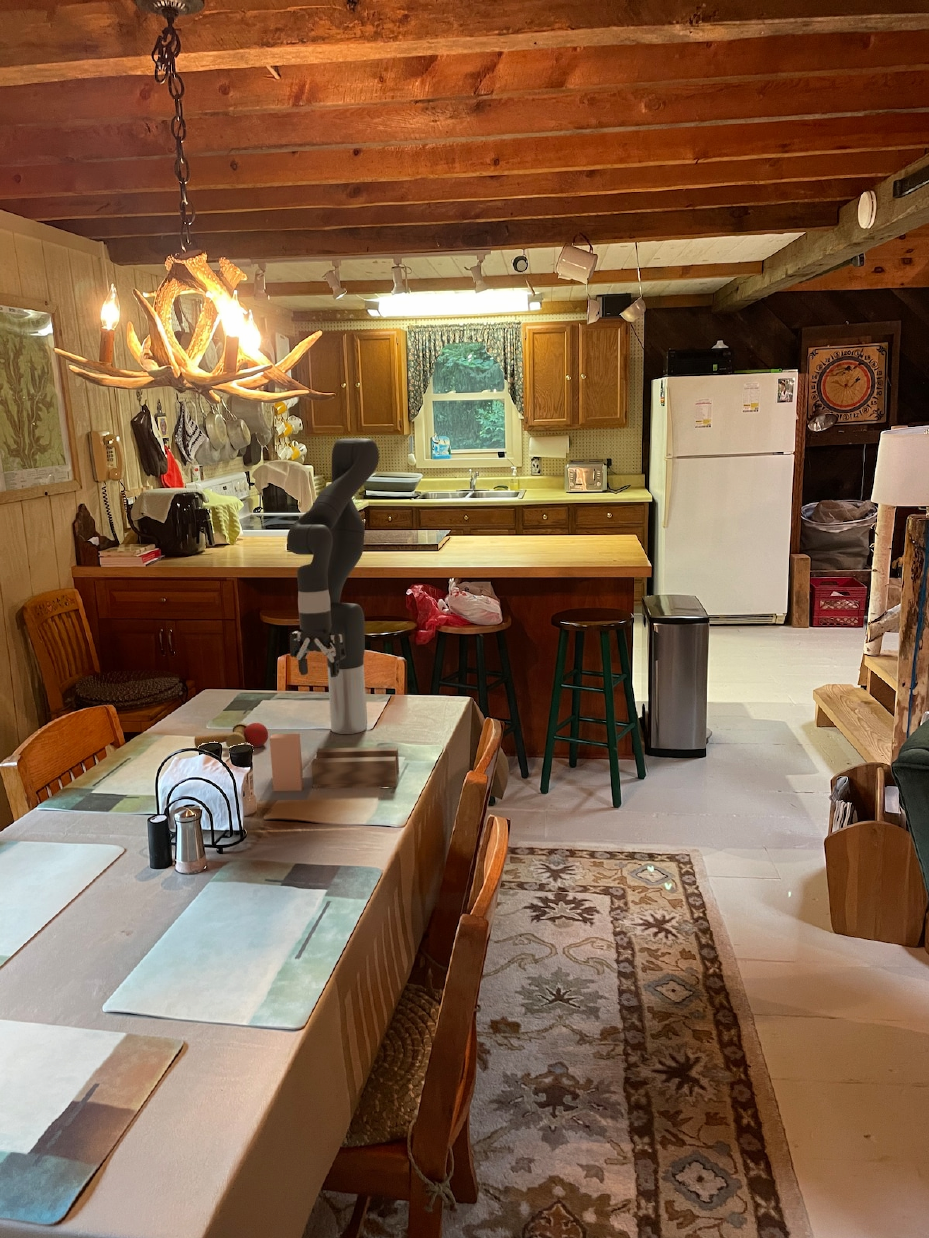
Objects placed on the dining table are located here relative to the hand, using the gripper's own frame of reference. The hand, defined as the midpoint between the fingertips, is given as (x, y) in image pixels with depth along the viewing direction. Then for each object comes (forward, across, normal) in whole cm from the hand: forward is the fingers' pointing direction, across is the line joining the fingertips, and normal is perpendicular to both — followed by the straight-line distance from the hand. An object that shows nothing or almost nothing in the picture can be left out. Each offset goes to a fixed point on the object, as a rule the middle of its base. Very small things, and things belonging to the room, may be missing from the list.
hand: (319, 675), depth 217 cm
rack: (+19, -18, +14) cm, 30 cm away
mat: (+19, -6, +24) cm, 32 cm away
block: (+19, -7, +24) cm, 31 cm away
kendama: (+19, +23, +6) cm, 30 cm away
